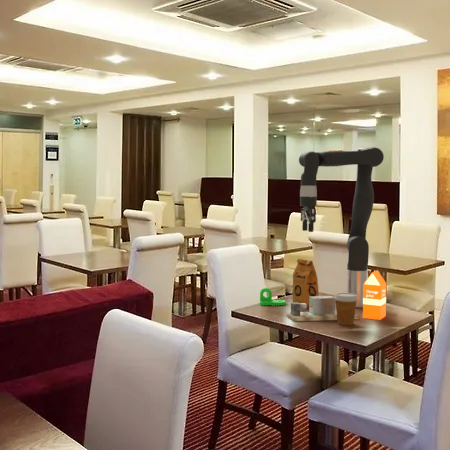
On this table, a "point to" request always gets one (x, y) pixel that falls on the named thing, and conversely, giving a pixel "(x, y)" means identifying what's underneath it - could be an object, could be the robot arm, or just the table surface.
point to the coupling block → (321, 305)
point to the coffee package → (304, 282)
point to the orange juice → (374, 297)
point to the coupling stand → (308, 314)
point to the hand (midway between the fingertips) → (307, 231)
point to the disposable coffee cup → (345, 308)
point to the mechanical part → (269, 298)
